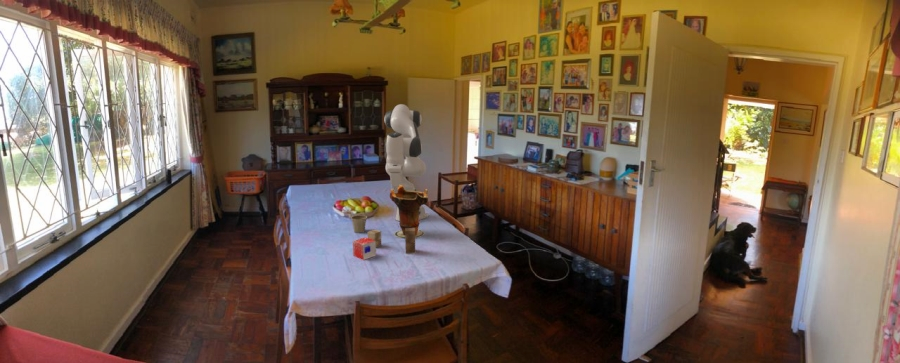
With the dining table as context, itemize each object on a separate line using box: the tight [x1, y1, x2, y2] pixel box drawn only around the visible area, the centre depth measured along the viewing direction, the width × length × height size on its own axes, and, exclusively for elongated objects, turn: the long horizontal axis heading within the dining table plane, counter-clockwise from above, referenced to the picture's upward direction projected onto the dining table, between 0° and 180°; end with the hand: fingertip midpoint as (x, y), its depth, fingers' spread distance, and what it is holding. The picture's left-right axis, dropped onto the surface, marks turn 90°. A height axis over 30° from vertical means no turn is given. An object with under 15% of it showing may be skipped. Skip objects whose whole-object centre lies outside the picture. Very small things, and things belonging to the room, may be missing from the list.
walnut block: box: [404, 228, 416, 255], centre depth 222 cm, size 5×5×12 cm
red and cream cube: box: [352, 236, 377, 261], centre depth 216 cm, size 8×8×8 cm
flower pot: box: [350, 214, 368, 234], centre depth 253 cm, size 9×9×9 cm
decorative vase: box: [389, 185, 429, 239], centre depth 247 cm, size 21×23×28 cm
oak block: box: [367, 229, 382, 248], centre depth 230 cm, size 5×5×8 cm
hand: (395, 192), depth 218 cm, fingers closed
